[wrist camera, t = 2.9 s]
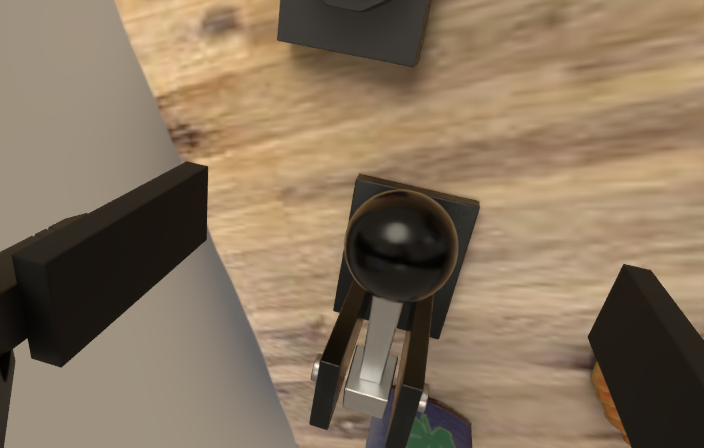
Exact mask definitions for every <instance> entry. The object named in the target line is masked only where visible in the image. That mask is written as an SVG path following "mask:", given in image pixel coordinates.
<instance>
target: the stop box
mask: <svg viewBox="0 0 704 448" xmlns="http://www.w3.org/2000/svg"><path fill="white" fill-rule="evenodd" d="M430 2H431V0H280V11H279V24H278V36H277V40H278V41H282V42H287V43H292V44H297V45H303V46H308V47H313V48H318V49H323V50H328V51H333V52H338V53H344V54H349V55H354V56H359V57H364V58H369V59H374V60H379V61H385V62H390V63H395V64H400V65H405V66H410V67H415V66H416V65H417V63H418V59H419V54H420V50H421V45H422V40H423V35H424V31H425V26H426V21H427V17H428V12H429V7H430Z"/></svg>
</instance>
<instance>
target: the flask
mask: <svg viewBox="0 0 704 448" xmlns="http://www.w3.org/2000/svg"><path fill="white" fill-rule="evenodd" d="M395 388H396V386H392V388H391V392H390V397H389V401H388V404H387V407H386V410H385V413H384V416H383V418H382V419H380V418H377V417H373V416H372V419H371V423H370V429H369V435H368V439H367V442H366V448H385V443H386V438H387V432H388V427H389V421H390V416H391V410H392V405H393V399H394V394H395ZM406 448H472V436H471V423H470V422H469V420H468V419H467V418H465V417H464V416H463V415H462V414H460V413H458V412H456V411H455V410H454V409H452V408H449V407H447V406H446V405H444V404H443V403H441V402H437V401H436V400H431V399H429V398H428V400H427V405H426V408H425V411H424V412H423V413H422V412H419V411H417V413H416V416H415V420H414V423H413V426H412V429H411V432H410V436H409V439H408V442H407V445H406Z"/></svg>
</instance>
